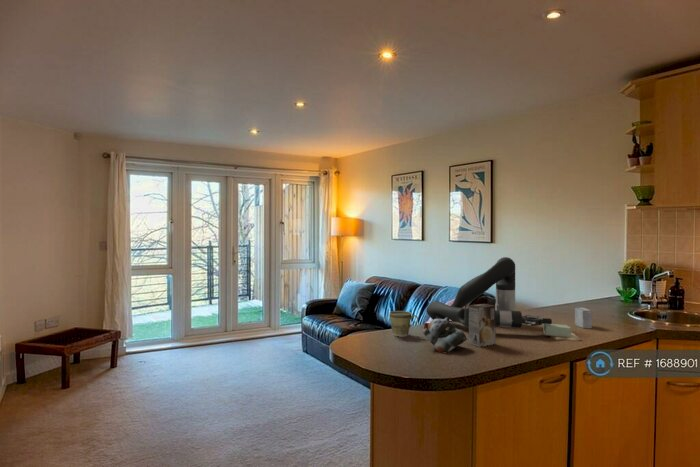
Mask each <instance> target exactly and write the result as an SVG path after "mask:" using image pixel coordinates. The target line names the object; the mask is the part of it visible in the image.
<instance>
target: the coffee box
mask: <svg viewBox="0 0 700 467" xmlns="http://www.w3.org/2000/svg"><path fill="white" fill-rule="evenodd" d="M468 305H469V328H468V344H469V345H472V344H473V345H472V346H475V345H476V347H478V346H479V348H482V347H487V345H488V346H492V345H493V344H494V345H496V343H497V341H496V337H497V335H496V333H497V332H496V329H497V328H496V327H497V326H496V324H495V304H487V303H479V304H468ZM481 346H482V347H481Z"/></svg>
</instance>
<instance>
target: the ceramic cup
mask: <svg viewBox="0 0 700 467" xmlns="http://www.w3.org/2000/svg"><path fill="white" fill-rule="evenodd" d="M414 317H415V318H416V321H414V322H413V323H411V321H412V319H413V318H414ZM418 320H419V317H418V316H417V315H414V314H412V312H411V311H406V310H393V311H389V321H390V325H391V332H392V335H393V336H394V337H397V336H399V338H404V337H408V336H409V331H410V328H411V327H412V326H413V325H414V324H416V323H417V322H418Z"/></svg>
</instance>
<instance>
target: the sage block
mask: <svg viewBox="0 0 700 467" xmlns="http://www.w3.org/2000/svg"><path fill="white" fill-rule="evenodd" d="M542 333H543V334H545V335H546V336H549V335H552V336H562V337H571V333H572V327H570V326H569V325H568V324H567V325H566V324H560V323H559V324H558V323H556V324H555V323H552V324H542Z"/></svg>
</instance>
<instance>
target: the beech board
mask: <svg viewBox="0 0 700 467" xmlns="http://www.w3.org/2000/svg"><path fill="white" fill-rule="evenodd" d="M548 337H550V338H551V339H552V340H553V339H554V340H556V341H557V340H558V341H573V342H574V341H575V342H576V341H577V342H578V341H579V342H581V341H582V339H581V338H580V337H579V336H577V335H576V334H575V333H573V332H571V337H562V336H552V335H548Z"/></svg>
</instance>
